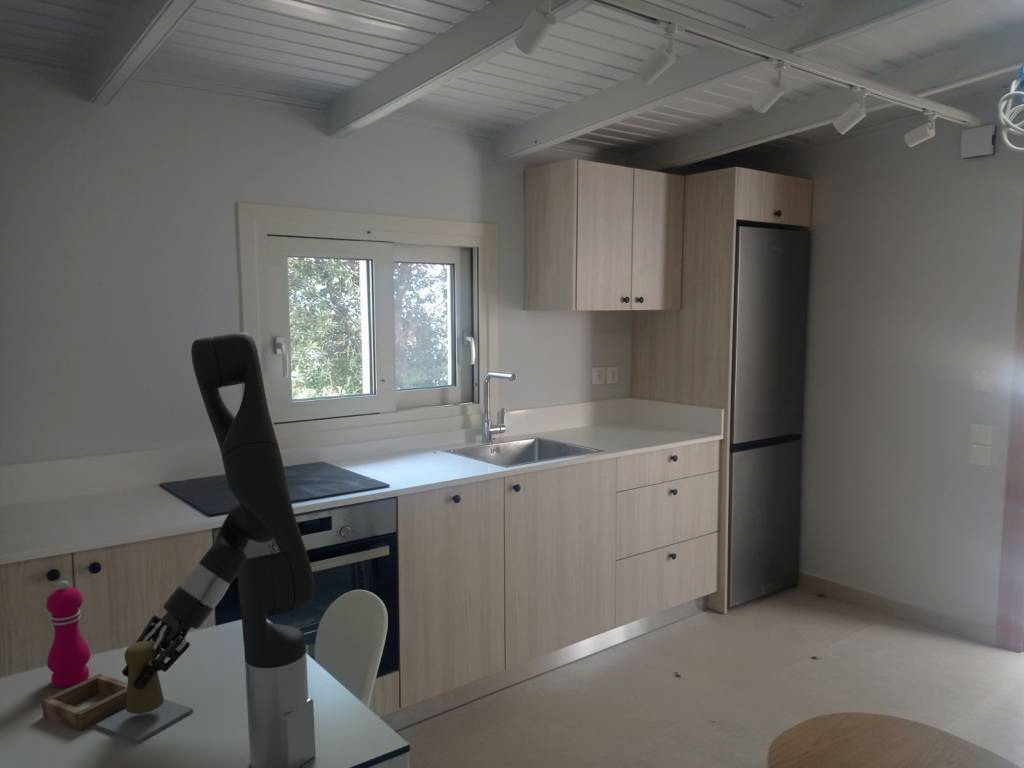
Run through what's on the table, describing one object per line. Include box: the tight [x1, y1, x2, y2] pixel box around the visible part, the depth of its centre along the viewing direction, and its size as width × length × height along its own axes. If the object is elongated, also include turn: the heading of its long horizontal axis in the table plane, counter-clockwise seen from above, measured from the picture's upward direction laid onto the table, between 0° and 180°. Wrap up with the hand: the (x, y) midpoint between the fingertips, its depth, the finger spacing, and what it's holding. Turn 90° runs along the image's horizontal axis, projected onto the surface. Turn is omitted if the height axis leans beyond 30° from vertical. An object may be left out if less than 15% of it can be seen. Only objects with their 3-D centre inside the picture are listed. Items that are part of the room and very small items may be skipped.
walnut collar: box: [41, 673, 128, 732], centre depth 135 cm, size 11×11×3 cm
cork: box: [124, 640, 165, 714], centre depth 131 cm, size 6×6×11 cm
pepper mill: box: [45, 580, 91, 689], centre depth 145 cm, size 7×7×20 cm
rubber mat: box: [95, 698, 194, 745], centre depth 132 cm, size 11×11×1 cm
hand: (131, 681), depth 130 cm, fingers closed on cork, 5 cm apart
